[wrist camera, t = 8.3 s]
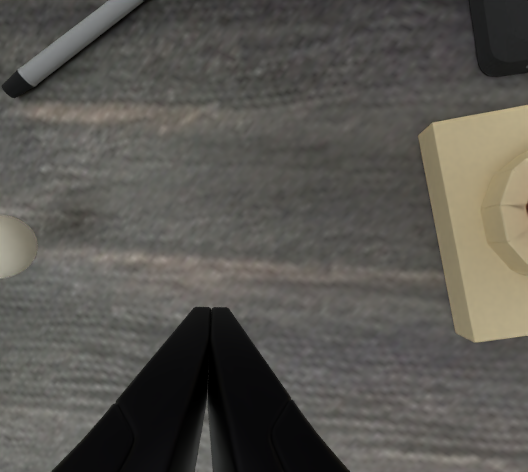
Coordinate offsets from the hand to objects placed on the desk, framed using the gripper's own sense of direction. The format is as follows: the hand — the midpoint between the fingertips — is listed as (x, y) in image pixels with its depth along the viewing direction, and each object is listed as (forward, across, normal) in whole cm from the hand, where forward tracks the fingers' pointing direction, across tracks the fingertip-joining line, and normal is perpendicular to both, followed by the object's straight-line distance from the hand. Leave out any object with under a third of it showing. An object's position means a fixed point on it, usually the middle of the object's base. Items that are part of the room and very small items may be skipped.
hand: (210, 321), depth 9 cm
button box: (+10, -18, 0) cm, 20 cm away
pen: (+21, +8, -8) cm, 23 cm away
